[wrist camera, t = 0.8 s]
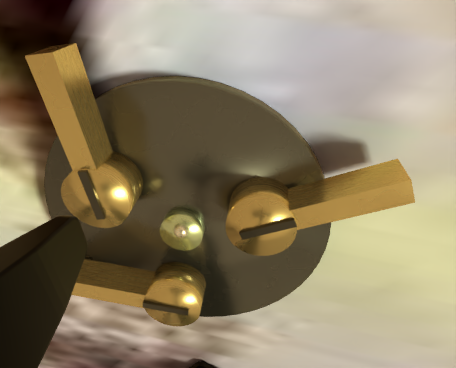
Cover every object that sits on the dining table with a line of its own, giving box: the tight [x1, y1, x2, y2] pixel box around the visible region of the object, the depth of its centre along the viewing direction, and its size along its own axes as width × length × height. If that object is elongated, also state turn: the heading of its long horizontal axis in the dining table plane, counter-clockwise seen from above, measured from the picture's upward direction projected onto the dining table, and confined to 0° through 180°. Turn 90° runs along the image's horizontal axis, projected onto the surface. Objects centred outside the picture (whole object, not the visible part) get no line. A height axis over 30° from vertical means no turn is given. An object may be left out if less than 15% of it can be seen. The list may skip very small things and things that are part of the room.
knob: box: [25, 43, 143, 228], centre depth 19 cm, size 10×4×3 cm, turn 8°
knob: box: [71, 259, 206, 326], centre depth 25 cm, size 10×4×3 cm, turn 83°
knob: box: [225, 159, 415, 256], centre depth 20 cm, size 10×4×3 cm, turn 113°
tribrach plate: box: [45, 76, 331, 317], centre depth 23 cm, size 19×19×3 cm
